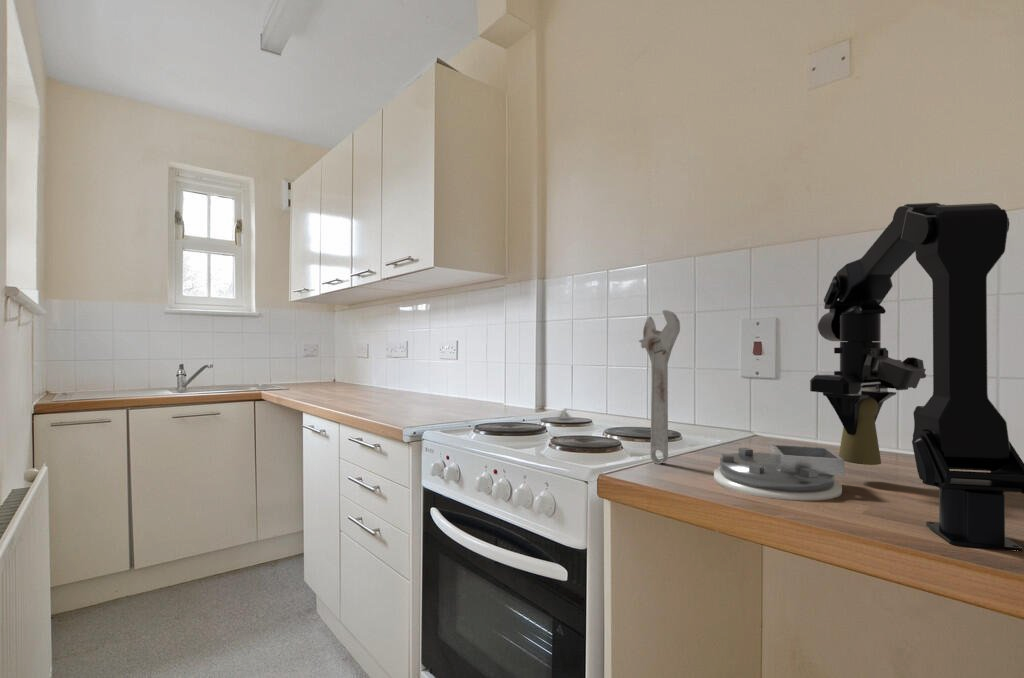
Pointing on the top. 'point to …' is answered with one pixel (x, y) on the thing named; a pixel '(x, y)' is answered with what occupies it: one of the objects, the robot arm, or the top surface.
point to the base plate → (777, 494)
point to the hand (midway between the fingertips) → (859, 433)
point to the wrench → (660, 378)
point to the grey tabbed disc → (784, 468)
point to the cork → (862, 437)
